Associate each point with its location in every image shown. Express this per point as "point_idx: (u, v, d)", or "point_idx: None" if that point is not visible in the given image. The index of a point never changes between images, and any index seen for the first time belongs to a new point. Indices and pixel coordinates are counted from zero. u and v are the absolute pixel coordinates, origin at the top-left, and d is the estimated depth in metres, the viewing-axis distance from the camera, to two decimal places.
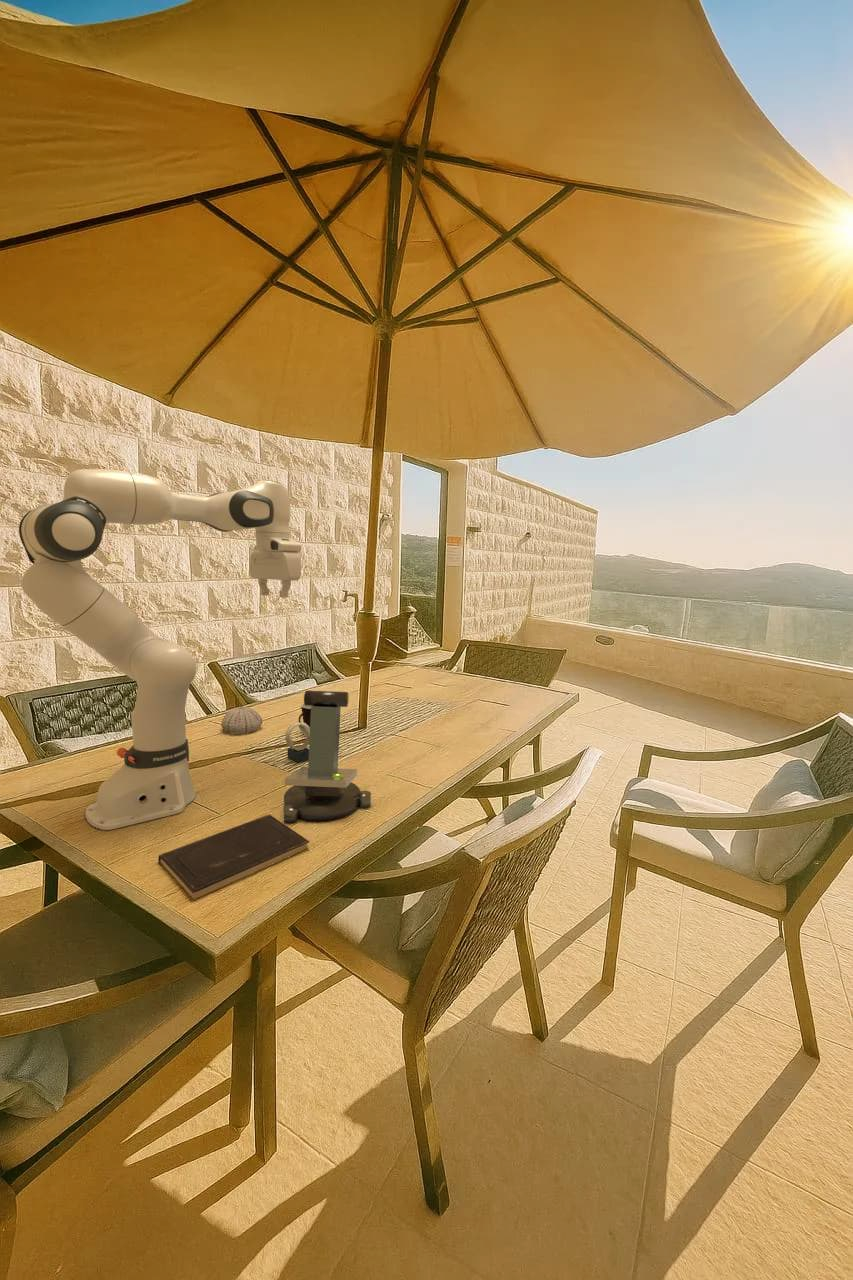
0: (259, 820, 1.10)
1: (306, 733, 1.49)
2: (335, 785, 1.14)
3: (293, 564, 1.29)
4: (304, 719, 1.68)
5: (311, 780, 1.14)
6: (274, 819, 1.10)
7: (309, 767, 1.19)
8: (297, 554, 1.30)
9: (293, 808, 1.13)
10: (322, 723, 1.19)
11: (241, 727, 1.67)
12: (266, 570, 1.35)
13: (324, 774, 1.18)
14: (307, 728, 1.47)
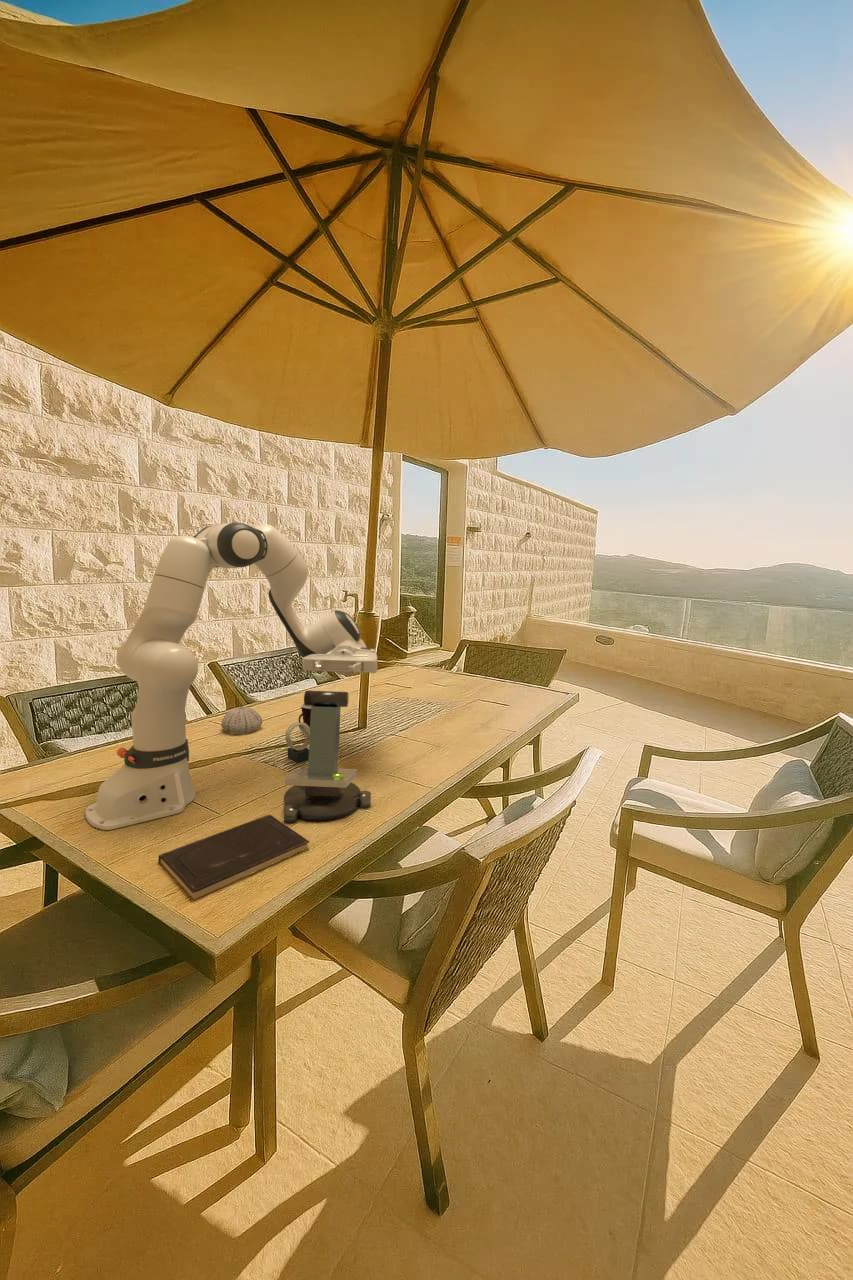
0: (259, 820, 1.09)
1: (306, 733, 1.49)
2: (335, 785, 1.14)
3: None
4: (304, 719, 1.68)
5: (311, 780, 1.14)
6: (274, 819, 1.10)
7: (309, 767, 1.19)
8: None
9: (293, 808, 1.13)
10: (322, 723, 1.19)
11: (241, 727, 1.67)
12: (337, 657, 1.37)
13: (324, 774, 1.18)
14: (307, 728, 1.47)
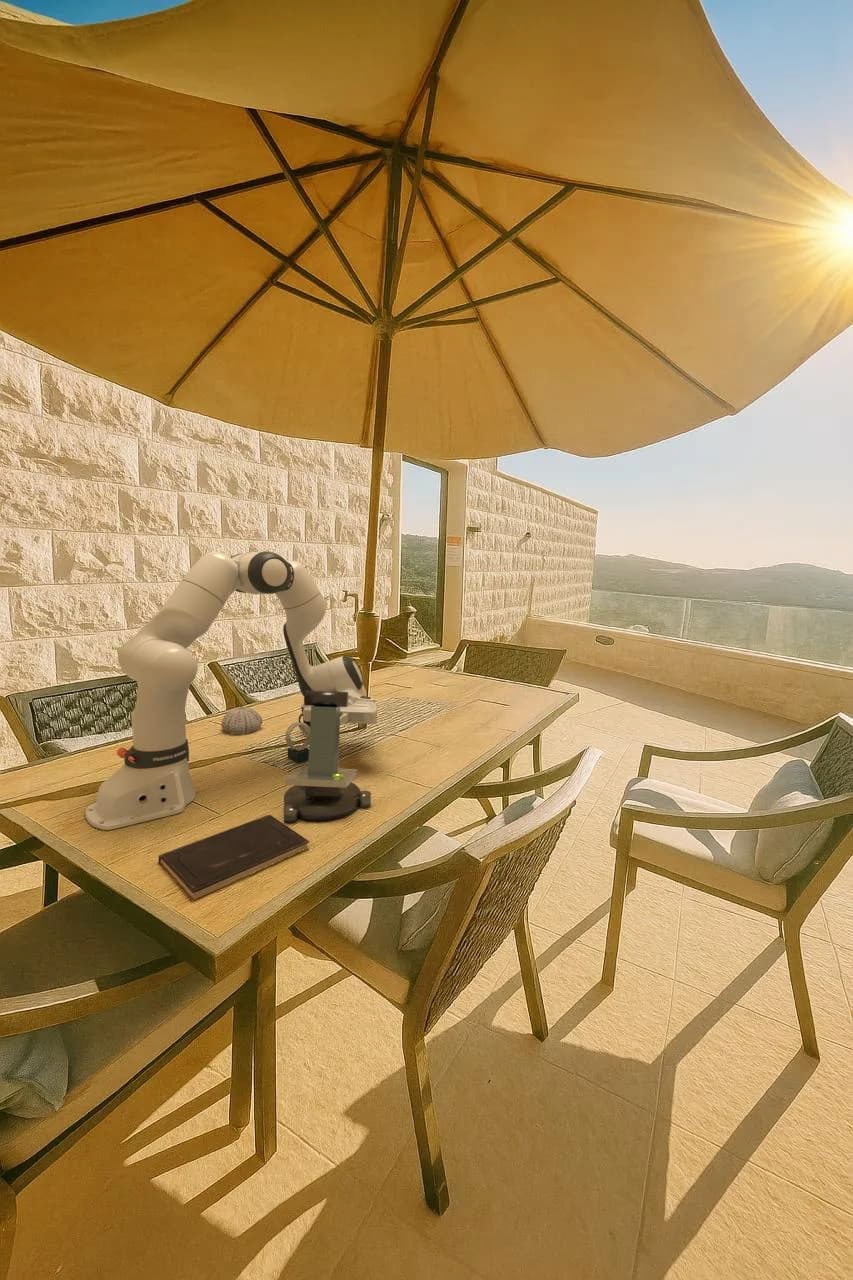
0: (259, 820, 1.09)
1: (306, 733, 1.49)
2: (335, 785, 1.14)
3: None
4: None
5: (311, 780, 1.14)
6: (274, 819, 1.10)
7: (309, 767, 1.19)
8: None
9: (293, 808, 1.13)
10: (322, 723, 1.19)
11: (241, 727, 1.67)
12: None
13: (324, 774, 1.18)
14: (307, 728, 1.47)
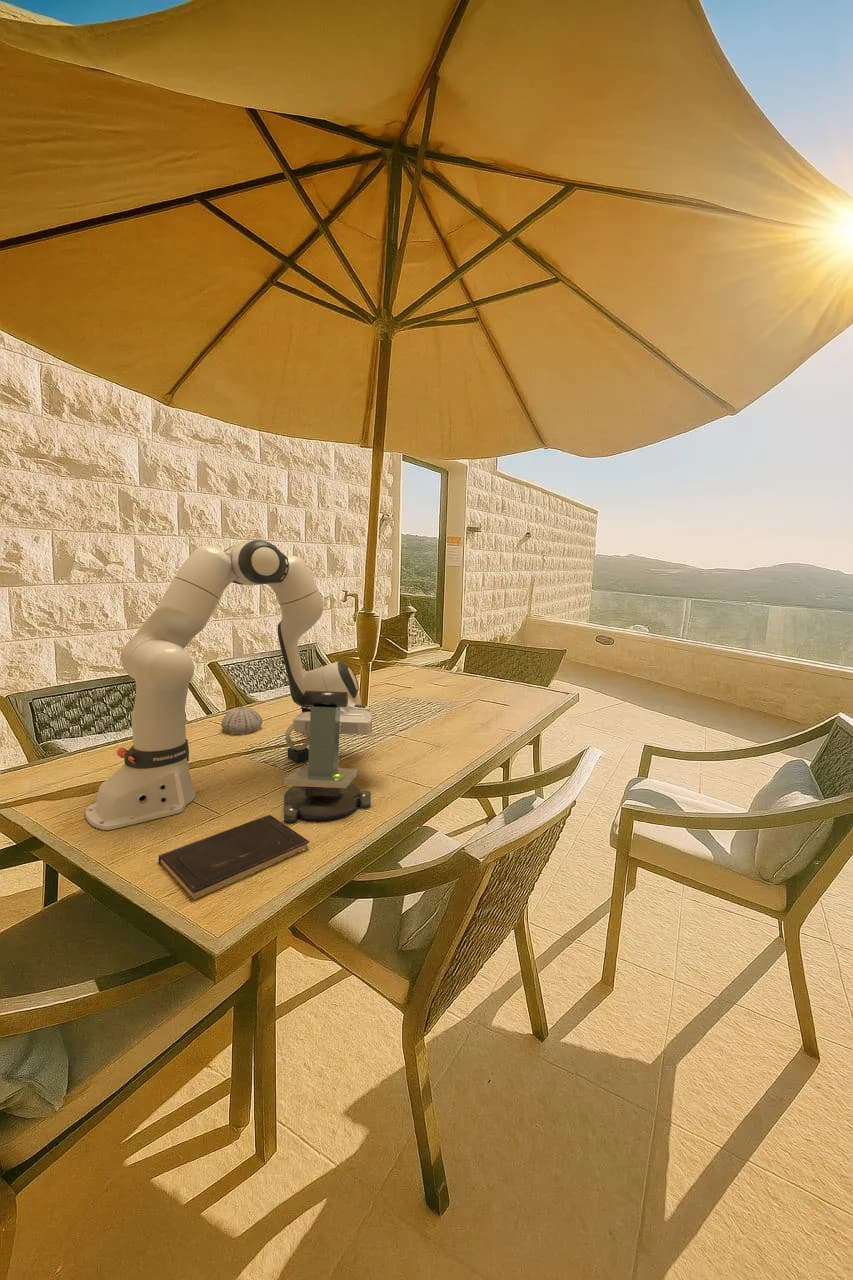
0: (259, 820, 1.09)
1: (306, 733, 1.49)
2: (335, 786, 1.14)
3: None
4: None
5: (311, 781, 1.14)
6: (275, 819, 1.10)
7: (309, 767, 1.19)
8: None
9: (293, 808, 1.13)
10: (322, 723, 1.19)
11: (241, 727, 1.68)
12: None
13: (324, 774, 1.18)
14: None
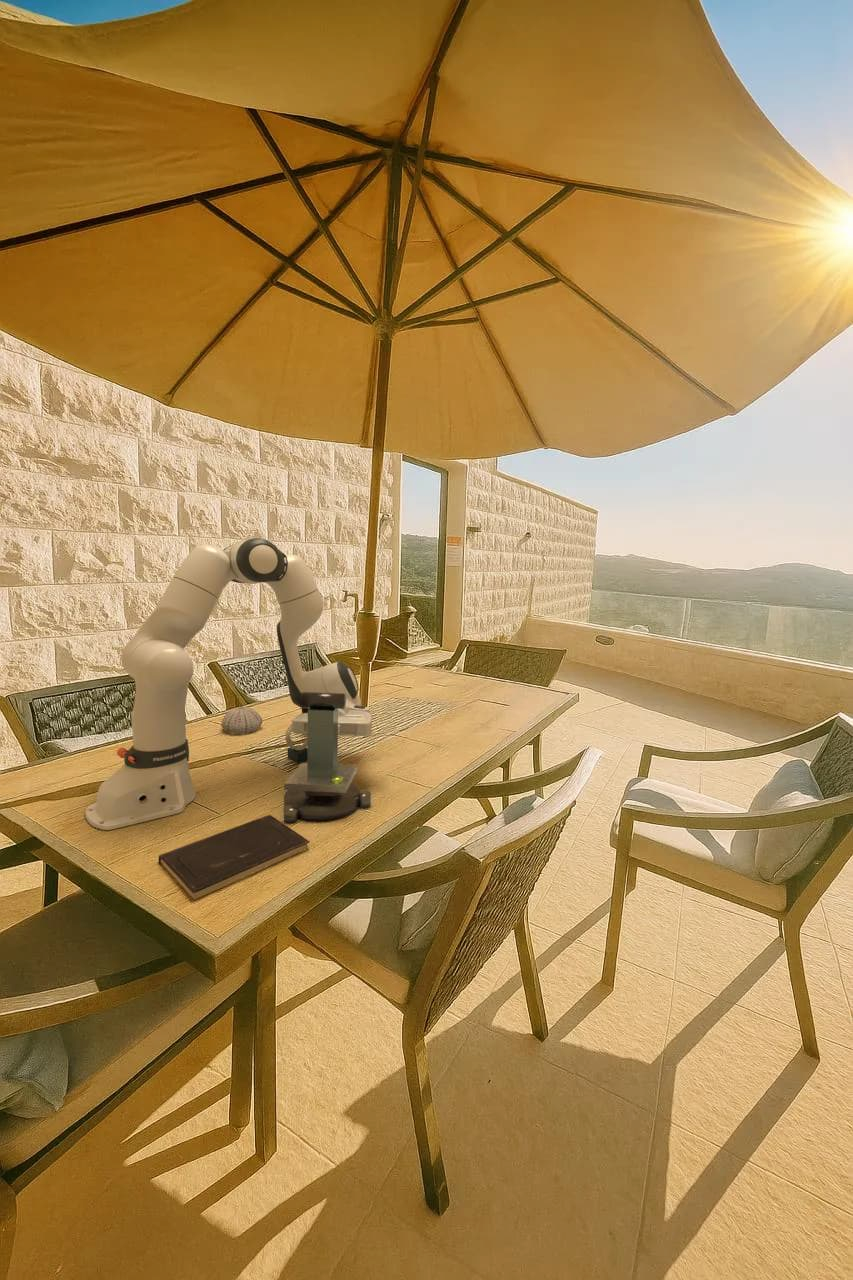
0: (259, 820, 1.09)
1: None
2: (335, 790, 1.14)
3: (371, 723, 1.31)
4: None
5: (311, 785, 1.14)
6: (275, 819, 1.10)
7: (308, 769, 1.18)
8: None
9: (293, 808, 1.13)
10: (320, 726, 1.17)
11: (241, 727, 1.67)
12: None
13: (324, 776, 1.18)
14: None
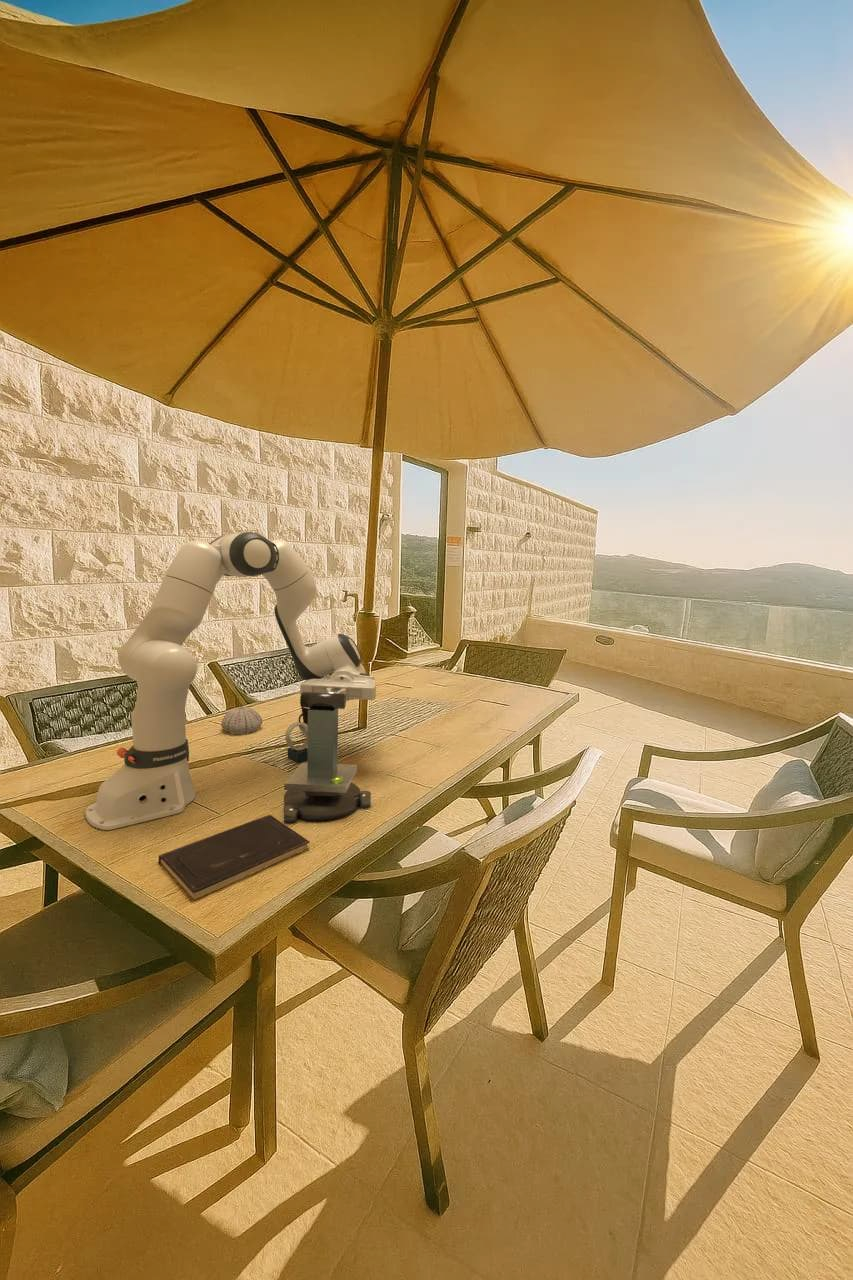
0: (259, 820, 1.09)
1: (306, 733, 1.49)
2: (335, 790, 1.14)
3: None
4: (304, 719, 1.68)
5: (311, 785, 1.14)
6: (275, 819, 1.10)
7: (308, 769, 1.18)
8: None
9: (293, 808, 1.13)
10: (320, 726, 1.17)
11: (241, 727, 1.67)
12: (336, 683, 1.36)
13: (324, 776, 1.18)
14: (307, 728, 1.47)
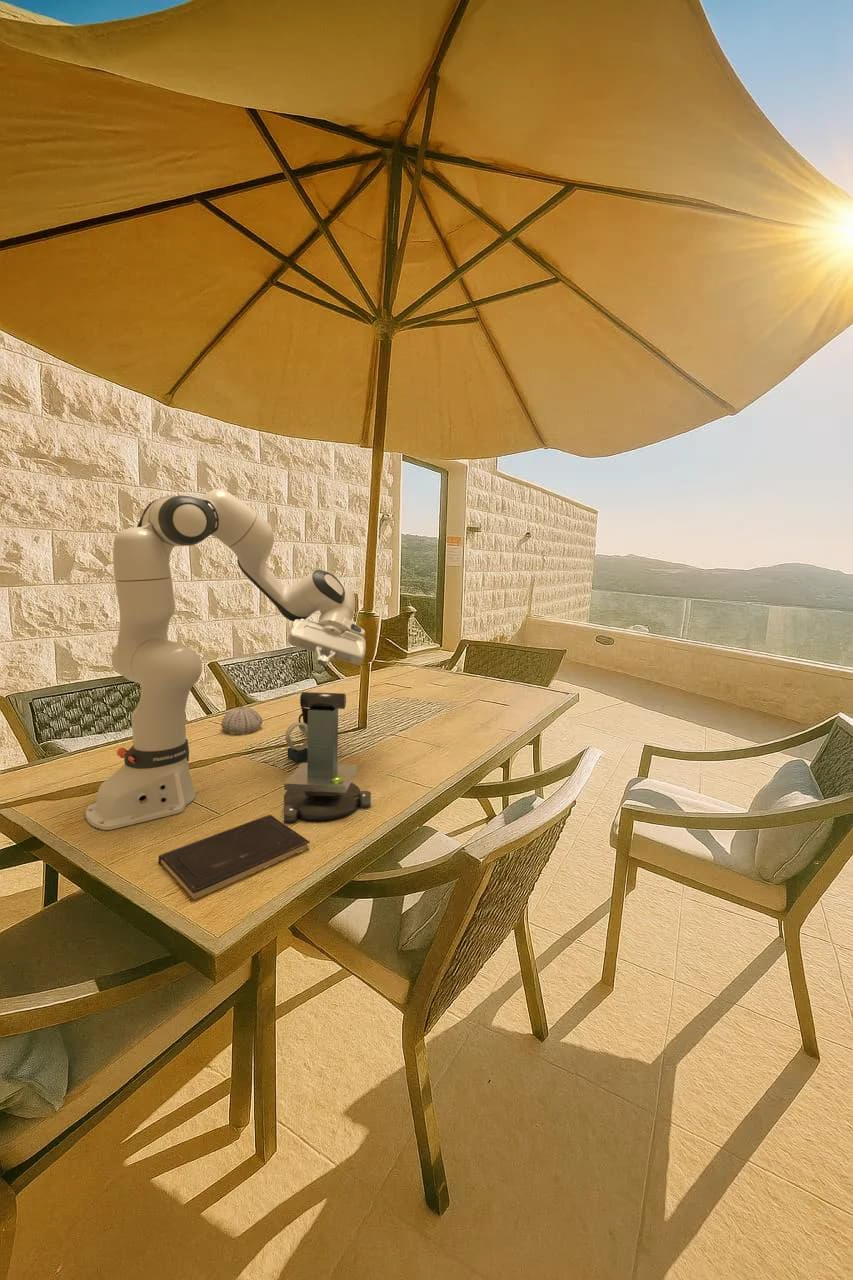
0: (259, 820, 1.09)
1: (306, 733, 1.49)
2: (335, 790, 1.14)
3: None
4: (304, 719, 1.68)
5: (311, 785, 1.14)
6: (275, 819, 1.10)
7: (308, 769, 1.18)
8: None
9: (293, 808, 1.13)
10: (320, 726, 1.17)
11: (241, 727, 1.67)
12: (326, 639, 1.33)
13: (324, 776, 1.18)
14: (307, 728, 1.47)
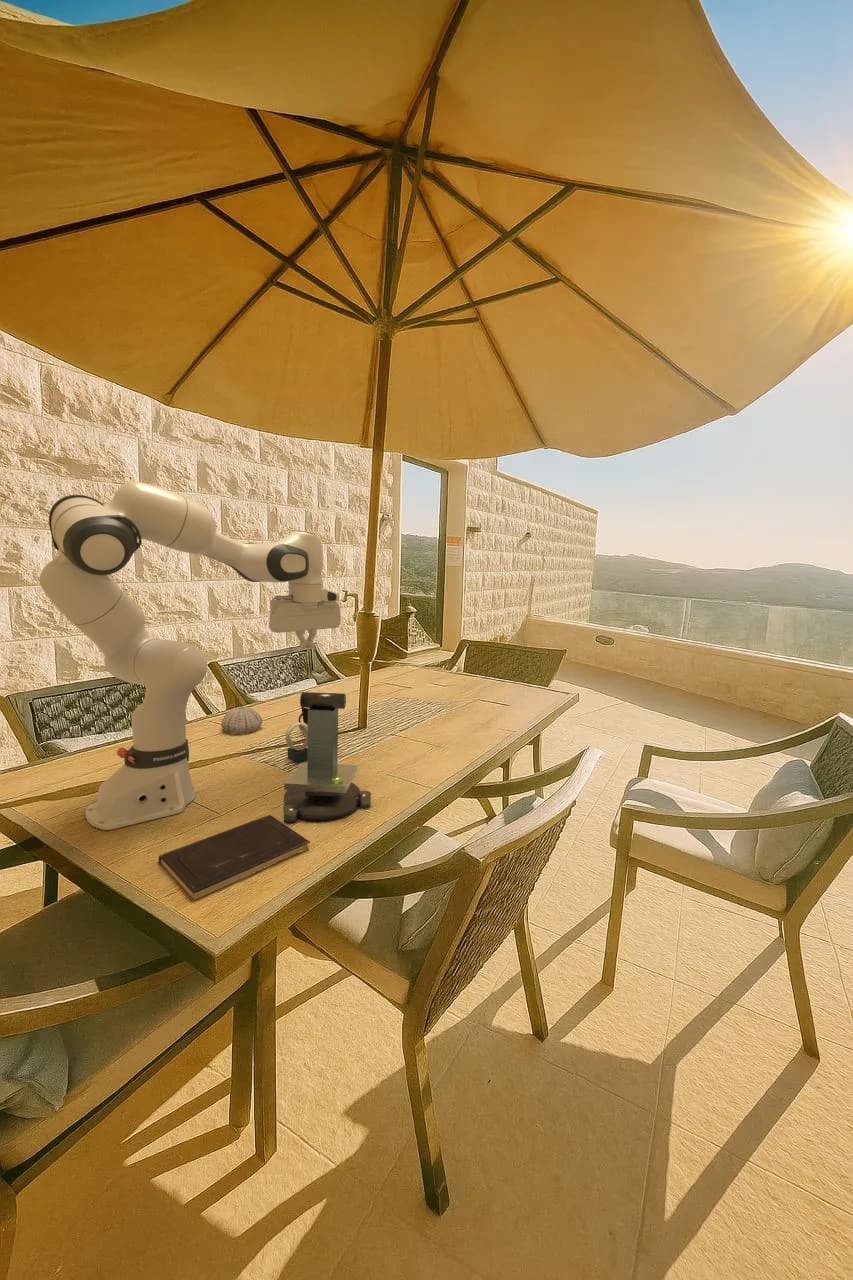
0: (259, 820, 1.09)
1: (306, 733, 1.49)
2: (335, 790, 1.14)
3: None
4: (304, 719, 1.68)
5: (311, 785, 1.14)
6: (275, 819, 1.10)
7: (308, 769, 1.18)
8: None
9: (293, 808, 1.13)
10: (320, 726, 1.17)
11: (241, 727, 1.67)
12: (307, 621, 1.32)
13: (324, 776, 1.18)
14: (307, 728, 1.47)
